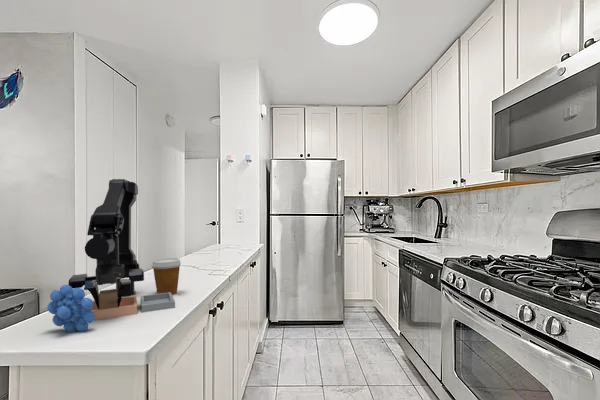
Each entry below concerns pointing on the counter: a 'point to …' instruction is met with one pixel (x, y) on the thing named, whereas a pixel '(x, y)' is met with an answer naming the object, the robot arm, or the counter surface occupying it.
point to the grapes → (71, 308)
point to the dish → (117, 309)
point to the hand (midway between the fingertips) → (108, 308)
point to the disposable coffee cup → (166, 275)
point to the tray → (157, 302)
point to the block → (108, 299)
